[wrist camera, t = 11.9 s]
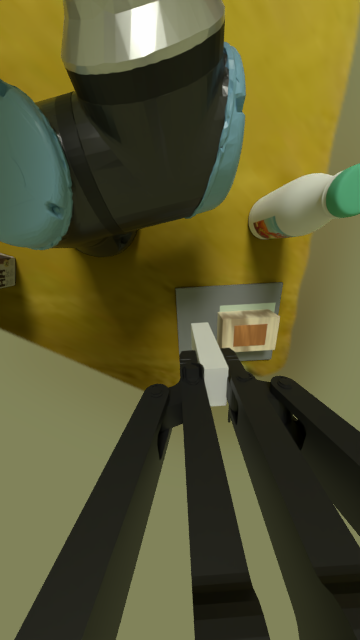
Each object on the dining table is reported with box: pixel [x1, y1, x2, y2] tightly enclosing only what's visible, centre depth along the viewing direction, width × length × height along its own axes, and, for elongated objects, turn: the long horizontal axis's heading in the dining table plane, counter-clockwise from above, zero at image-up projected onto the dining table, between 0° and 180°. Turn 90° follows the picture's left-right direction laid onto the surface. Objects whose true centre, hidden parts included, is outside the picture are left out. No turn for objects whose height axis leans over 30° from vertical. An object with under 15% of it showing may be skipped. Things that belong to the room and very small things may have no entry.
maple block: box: [217, 309, 280, 352], centre depth 42 cm, size 5×8×12 cm
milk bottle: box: [249, 164, 360, 239], centre depth 27 cm, size 8×8×20 cm
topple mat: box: [176, 282, 283, 361], centre depth 45 cm, size 24×20×1 cm
